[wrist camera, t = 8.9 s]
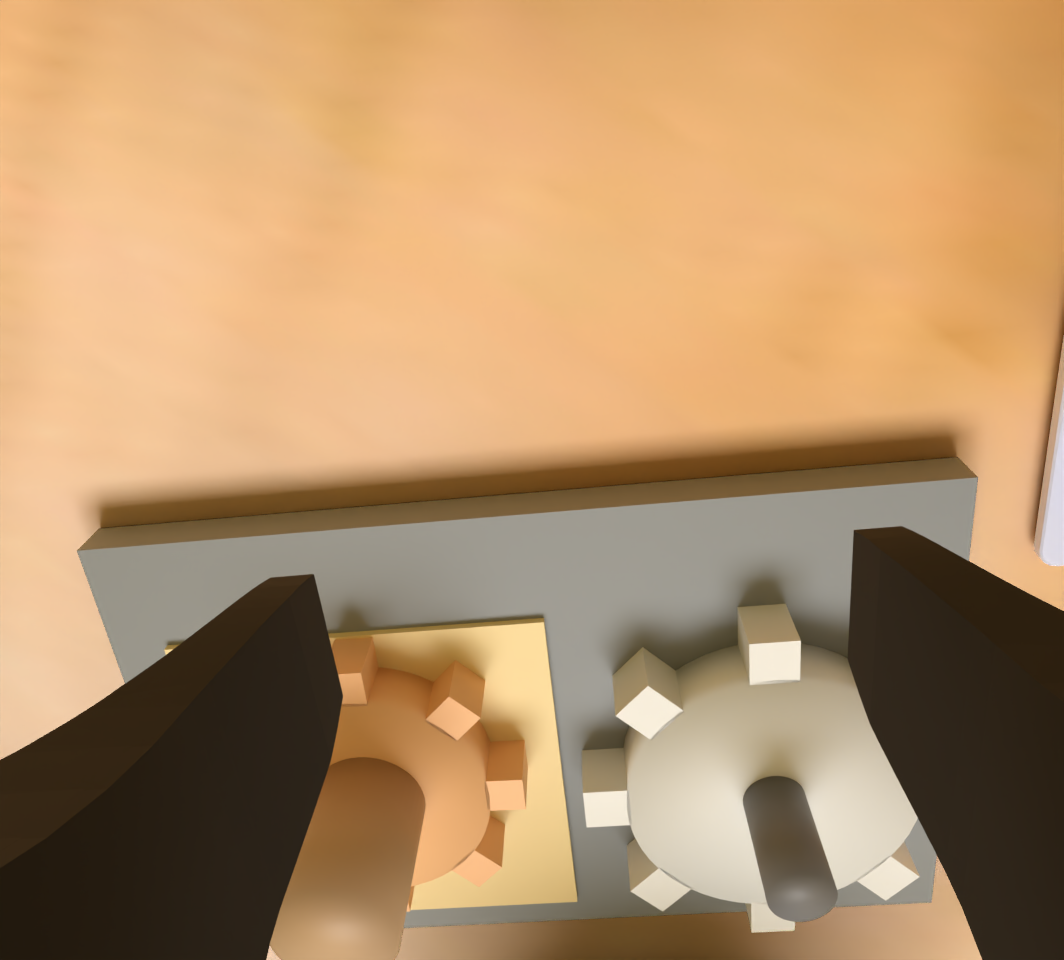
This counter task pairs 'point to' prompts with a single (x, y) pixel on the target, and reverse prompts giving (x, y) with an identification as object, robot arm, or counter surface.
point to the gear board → (611, 673)
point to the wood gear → (396, 807)
